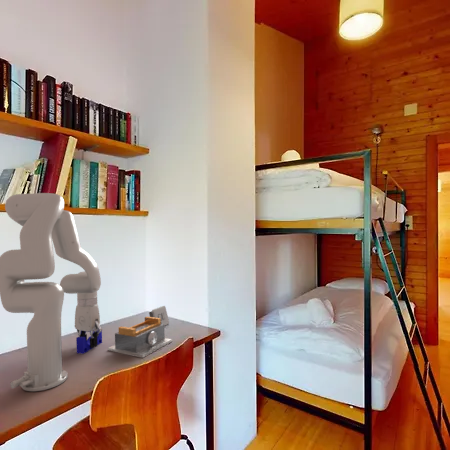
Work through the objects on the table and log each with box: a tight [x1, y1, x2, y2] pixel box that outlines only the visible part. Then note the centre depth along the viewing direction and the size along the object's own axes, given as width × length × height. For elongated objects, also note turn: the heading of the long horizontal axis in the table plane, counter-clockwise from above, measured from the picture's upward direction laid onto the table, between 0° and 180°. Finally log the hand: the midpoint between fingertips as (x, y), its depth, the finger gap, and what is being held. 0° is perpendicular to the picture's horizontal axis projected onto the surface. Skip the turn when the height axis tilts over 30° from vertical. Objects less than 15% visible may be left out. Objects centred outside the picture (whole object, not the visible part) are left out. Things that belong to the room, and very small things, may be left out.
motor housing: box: [107, 316, 173, 359], centre depth 128 cm, size 18×18×10 cm
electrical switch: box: [148, 305, 170, 327], centre depth 155 cm, size 9×5×9 cm, turn 152°
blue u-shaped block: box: [75, 330, 103, 355], centre depth 128 cm, size 12×4×6 cm, turn 167°
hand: (88, 345), depth 128 cm, fingers closed on blue u-shaped block, 5 cm apart
